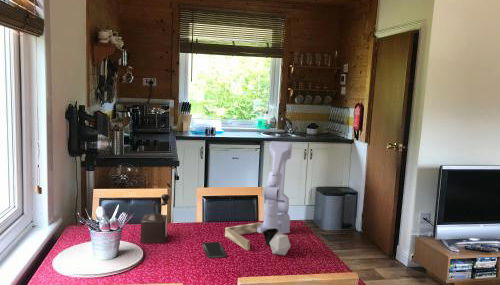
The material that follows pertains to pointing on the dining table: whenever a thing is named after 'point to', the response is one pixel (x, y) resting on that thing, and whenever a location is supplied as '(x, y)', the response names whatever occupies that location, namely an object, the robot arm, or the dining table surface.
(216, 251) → the phone
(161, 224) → the coffee grinder box
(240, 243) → the wooden frame
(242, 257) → the dining table surface
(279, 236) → the die
